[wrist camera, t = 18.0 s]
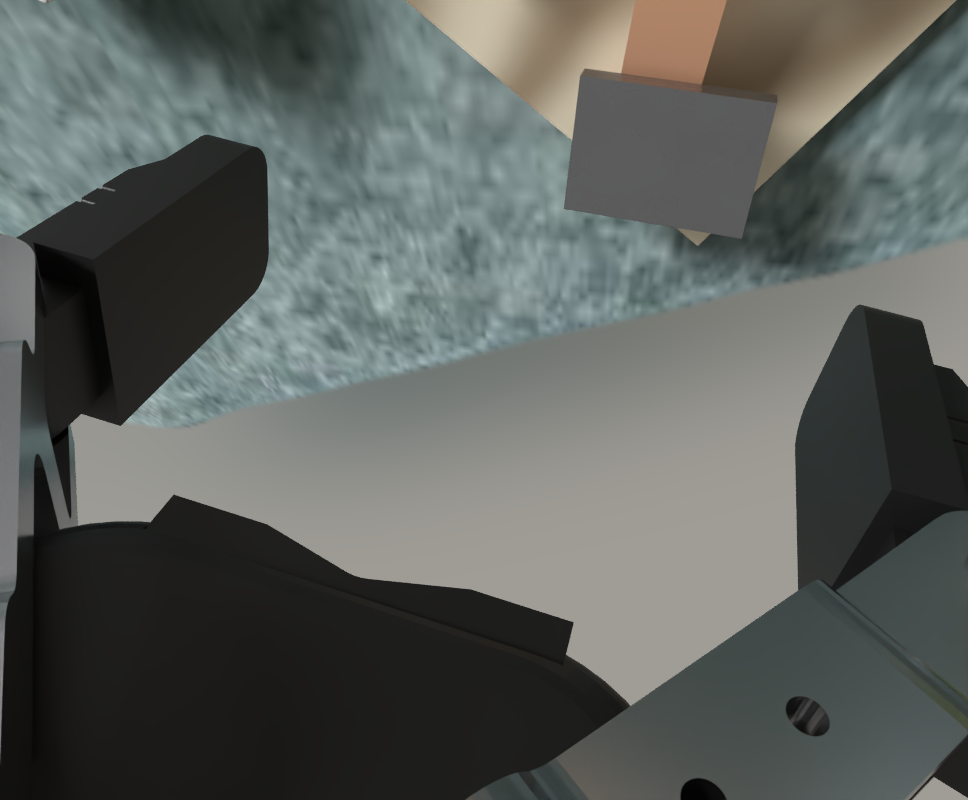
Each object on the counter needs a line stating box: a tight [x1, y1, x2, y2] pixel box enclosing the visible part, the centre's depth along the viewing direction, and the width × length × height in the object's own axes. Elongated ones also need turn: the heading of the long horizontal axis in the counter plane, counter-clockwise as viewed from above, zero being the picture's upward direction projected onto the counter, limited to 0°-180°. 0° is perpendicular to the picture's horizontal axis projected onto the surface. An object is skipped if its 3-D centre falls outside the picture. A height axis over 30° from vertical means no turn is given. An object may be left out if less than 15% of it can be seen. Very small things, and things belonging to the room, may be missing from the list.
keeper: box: [564, 68, 777, 239], centre depth 34 cm, size 5×7×5 cm
